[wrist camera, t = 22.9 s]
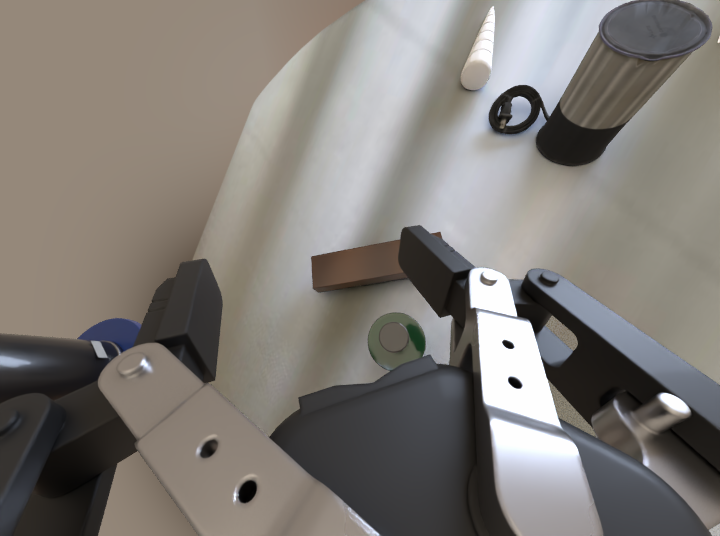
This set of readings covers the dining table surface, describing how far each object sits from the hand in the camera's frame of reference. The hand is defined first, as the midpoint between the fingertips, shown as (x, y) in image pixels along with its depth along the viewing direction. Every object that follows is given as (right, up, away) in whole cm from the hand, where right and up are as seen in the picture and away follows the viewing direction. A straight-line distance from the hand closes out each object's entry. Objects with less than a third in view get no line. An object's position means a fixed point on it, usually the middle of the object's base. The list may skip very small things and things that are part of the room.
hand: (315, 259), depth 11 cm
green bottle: (+7, -11, +22) cm, 26 cm away
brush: (+6, 0, +26) cm, 27 cm away
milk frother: (+31, +21, +30) cm, 48 cm away
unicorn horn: (+25, +42, +39) cm, 62 cm away
